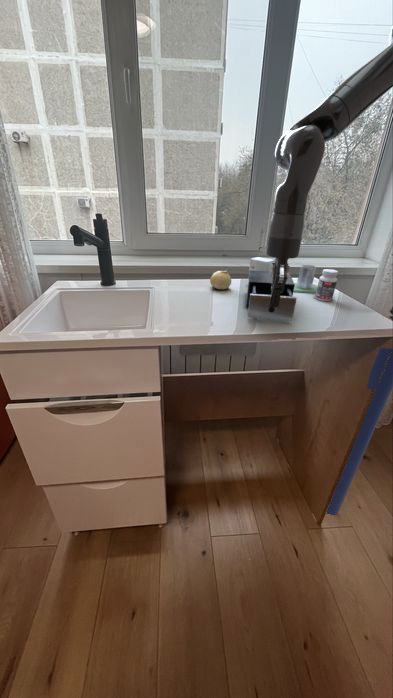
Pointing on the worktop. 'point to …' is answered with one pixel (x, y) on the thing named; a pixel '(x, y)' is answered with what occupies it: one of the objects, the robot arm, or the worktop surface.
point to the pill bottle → (326, 285)
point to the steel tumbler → (306, 276)
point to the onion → (220, 280)
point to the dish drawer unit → (264, 282)
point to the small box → (261, 264)
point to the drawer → (261, 304)
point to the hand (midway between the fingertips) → (273, 305)
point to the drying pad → (312, 290)
